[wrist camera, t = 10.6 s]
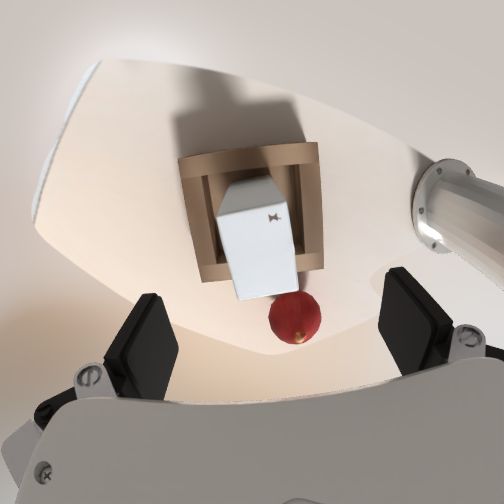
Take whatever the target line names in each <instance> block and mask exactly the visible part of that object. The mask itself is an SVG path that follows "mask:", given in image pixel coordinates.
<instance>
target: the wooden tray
mask: <svg viewBox="0 0 504 504" xmlns="http://www.w3.org/2000/svg"><path fill="white" fill-rule="evenodd" d="M178 164H179V170H180V176H181V182H182V188H183V193H184V199H185V204H186V209H187V215H188V220H189V225H190V230H191V235H192V240H193V244H194V249H195V254H196V258H197V263H198V268H199V272H200V276H201V281H202V283H204V282H214V281H223V280H232V277H231V273H230V269H229V266H228V262H227V259H226V256H225V252H224V249H223V245H222V241H221V237H220V233H219V228H218V224H217V220H216V215H217V213H218V211H219V208H220V206H221V203H222V201H223V199H224V196H225V194H226V191H227V189H228V187H229V184H230V182H234V181H239V180H244V179H249V178H253V177H259V176H265V175H272V177H273V179H274V180H275V182H276V184H277V186H278V187H279V189H280V191H281V193H282V194H283V196H284V198H285V200H286V202H287V206H288V211H289V217H290V224H291V230H292V236H293V243H294V248H295V260H296V268H297V272H302V271H310V270H318V269H324V251H323V216H322V196H321V179H320V166H319V154H318V143H317V142H299V143H285V144H274V145H264V146H255V147H246V148H238V149H231V150H224V151H217V152H211V153H205V154H199V155H193V156H188V157H184V158H180V159H178Z"/></svg>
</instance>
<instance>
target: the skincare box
mask: <svg viewBox="0 0 504 504" xmlns="http://www.w3.org/2000/svg"><path fill="white" fill-rule="evenodd" d="M216 220H217V224H218V228H219V233H220V237H221V241H222V245H223V249H224V252H225V256H226V259H227V262H228V266H229V269H230V273H231V277H232V280H233V284H234V288H235V291H236V295H237V299H238V300H245V299H251V298H257V297H263V296H270V295H276V294H282V293H288V292H294V291H298V290H299V284H298V276H297V268H296V260H295V248H294V243H293V236H292V230H291V224H290V217H289V211H288V206H287V202H286V200H285V198H284V196H283V194H282V193H281V191H280V189H279V187H278V186H277V184H276V182H275V180H274V179H273V177H272V175H265V176H259V177H253V178H249V179H244V180H239V181H234V182H230V184H229V187H228V189H227V191H226V194H225V196H224V199H223V201H222V203H221V206H220V208H219V211H218V213H217V215H216Z"/></svg>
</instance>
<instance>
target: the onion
mask: <svg viewBox="0 0 504 504" xmlns="http://www.w3.org/2000/svg"><path fill="white" fill-rule="evenodd" d="M268 318H269V322H270V326H271V329H272V331H273V332H274V333H275V335H276V336H277V337H278V338H279V339H280V340H282V341H284V342H286V343H289V344H301V343H304V342H306V341H308V340H309V339H311V338H312V336H313V335H314V334H315V333H316V332H317V331H318V329H319V326H320V323H321V312H320V307H319V305H318V303H317V302H316V301H315V299H314V298H313V296H311V295H309V294H308V293H306V292H303V291H294V292H288V293H284V294H282V295H280V296H279V297H278V298H277V299H276V300H275V301H274V302H273V303H272V304H271V308H270V312H269V316H268Z"/></svg>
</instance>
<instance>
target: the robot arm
mask: <svg viewBox="0 0 504 504" xmlns="http://www.w3.org/2000/svg"><path fill="white" fill-rule="evenodd" d="M412 212H413V223H414V228H415V231H416V234H417V236H418V238H419V239H420V241H421V243H422V244H423V245H424V246H426V247H427V248H428V249H429V250H431V251H433V252H435V253H438V254H446V253H451V252H454V253H456V254H457V255H458V256H460V257H461V258H463V259H464V260H465V261H467V262H468V263H469V264H471V265H472V266H473V267H475V268H476V269H477V270H479V271H480V272H481V273H482V274H484V275H485V276H486V277H487V278H489V279H490V280H491V281H492V282H494V283H495V284H496V285H497V286H498V287H500V288H501V289H502V290H503V291H504V187H502V186H500V185H497V184H493V183H491V182H488V181H485V180H482V179H479V178H476V177H475V174H474V173H473V171H472V170H471V168H470V167H468V166H467V165H466V164H465V163H463V162H461V161H459V160H455V159H442V160H440V161H438V162H436V163H434V164H433V165H432V166H430V167H429V168H428V169H427V171H426V172H425V173H424V174H423V176H422V178H421V180H420V182H419V184H418V186H417V189H416V192H415V196H414V201H413V211H412ZM452 324H453V320H452V319H451V318H450V317H449V316H448V315H447V313H446V312H445V311H444V310H443V309H442V308H441V307H440V305H439V304H438V303H437V302H436V301H435V300H434V299H433V298H432V297H431V295H430V294H429V293H428V292H427V291H426V290H425V289H424V288H423V287H422V286H421V285H420V284H419V283H418V281H417V280H416V279H415V278H413V276H412V275H411V274H410V273H409V272H408V271H407V270H406V269H405V268H404V267H396V268H390V270H389V272H387V273H386V275H385V282H384V289H383V296H382V303H381V310H380V316H379V322H378V329H379V332H380V334H381V335H382V337H383V339H384V341H385V343H386V345H387V347H388V349H389V351H390V352H391V354H392V356H393V358H394V360H395V362H396V364H397V366H398V368H399V370H400V372H401V374H402V376H401V377H397V378H393V379H390V380H386V381H382V382H378V383H373V384H369V385H364V386H360V387H355V388H350V389H345V390H339V391H334V392H327V393H321V394H314V395H308V396H299V397H291V398H281V399H271V400H256V401H236V402H186V401H185V402H184V401H164V397H165V393H166V390H167V387H168V383H169V380H170V377H171V373H172V370H173V367H174V364H175V361H176V357H177V354H178V350H179V349H178V343H177V341H176V338H175V335H174V332H173V329H172V327H171V324H170V321H169V318H168V315H167V312H166V309H165V306H164V303H163V300H162V298H161V297H160V296H158V295H157V294H156V293H148V294H142V295H141V297H140V299H139V300H138V302H137V303H136V305H135V306H134V308H133V310H132V311H131V313H130V314H129V316H128V318H127V319H126V321H125V322H124V324H123V326H122V327H121V329H120V330H119V332H118V334H117V336H116V337H115V339H114V341H113V342H112V344H111V345H110V347H109V349H108V351H107V353H106V354H105V356H104V360H105V361H104V363H103V365H102V364H100V363H89V364H86V365H84V366H83V367H81V368H80V369H79V370H78V371H77V372H76V374H75V376H74V387H72V388H70V389H68V390H66V391H64V392H62V393H60V394H58V395H56V396H54V397H52V398H50V399H48V400H46V401H44V402H43V403H41V404H40V405H39V406H38V407H37V409H36V410H35V413H34V421H32V420H31V419H30V420H29V421H27V422H26V423H25V424H24V425H23V426H22V427H20V428H19V429H18V430H17V431H16V432H14V433H13V434H12V435H11V436H10V437H8V438H7V439H6V440H5V441H4V443H3V445H2V450H1V452H2V456H3V458H4V460H5V462H6V465H7V466H8V469H9V471H10V473H11V475H12V477H13V479H14V481H15V483H16V484H17V486H18V488H19V491H18V494H17V498H16V502H15V504H504V350H503V349H499V348H496V347H492V346H489V345H486V340H485V336H484V334H483V332H482V331H481V330H480V329H478V328H477V327H475V326H472V325H467V324H464V325H460V326H457V327H456V328H454V327H453V325H452Z"/></svg>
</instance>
